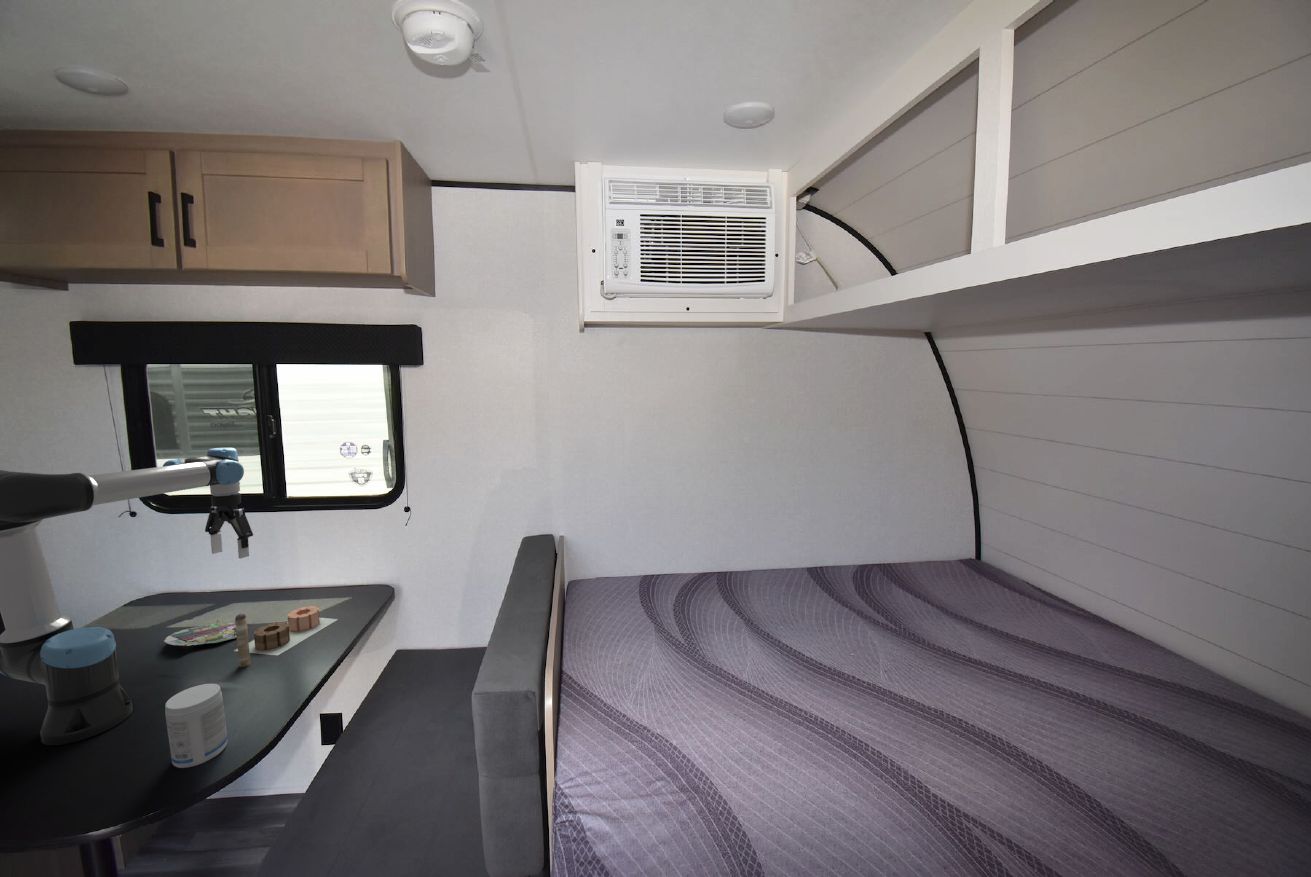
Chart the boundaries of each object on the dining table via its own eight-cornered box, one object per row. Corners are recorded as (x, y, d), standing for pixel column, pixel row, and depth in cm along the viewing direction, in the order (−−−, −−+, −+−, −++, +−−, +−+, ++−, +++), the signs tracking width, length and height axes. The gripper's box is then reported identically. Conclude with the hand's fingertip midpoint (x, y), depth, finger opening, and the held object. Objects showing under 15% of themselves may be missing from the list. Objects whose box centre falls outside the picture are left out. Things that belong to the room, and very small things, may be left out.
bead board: (277, 659, 152) (277, 655, 152) (233, 654, 155) (233, 650, 155) (338, 622, 176) (338, 619, 176) (299, 618, 178) (299, 615, 178)
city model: (277, 629, 175) (278, 612, 176) (212, 657, 152) (213, 637, 152) (214, 626, 178) (215, 609, 178) (141, 653, 155) (141, 634, 155)
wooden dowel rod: (244, 671, 146) (239, 616, 144) (237, 670, 146) (232, 615, 144) (253, 666, 148) (248, 612, 146) (245, 665, 149) (240, 611, 147)
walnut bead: (272, 651, 154) (271, 636, 154) (248, 649, 156) (246, 634, 155) (296, 637, 163) (295, 623, 162) (273, 635, 164) (272, 621, 164)
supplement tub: (225, 733, 120) (219, 677, 118) (230, 753, 114) (224, 694, 112) (169, 755, 113) (163, 695, 111) (172, 777, 107) (165, 714, 105)
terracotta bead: (304, 632, 166) (303, 618, 166) (282, 630, 167) (281, 616, 167) (325, 620, 175) (324, 607, 174) (304, 618, 176) (303, 605, 176)
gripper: (263, 494, 164) (267, 555, 166) (214, 488, 172) (218, 547, 174) (238, 498, 157) (242, 562, 159) (188, 492, 165) (193, 553, 167)
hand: (230, 554), depth 167 cm, fingers open, 13 cm apart
